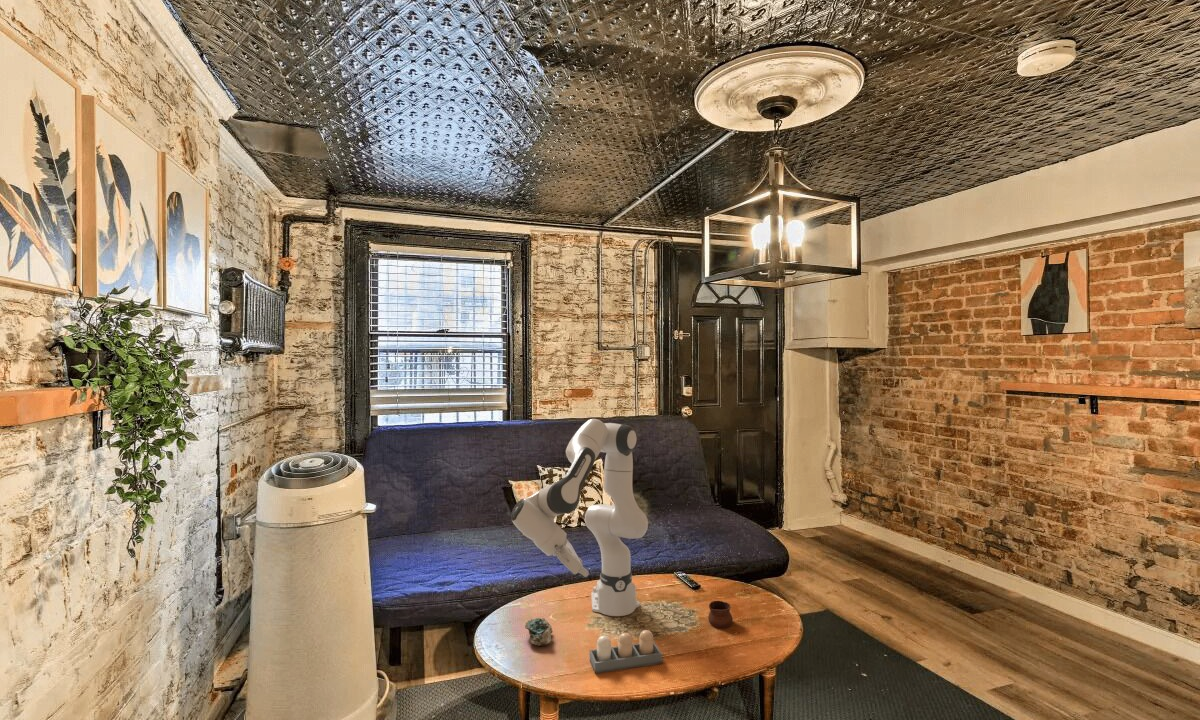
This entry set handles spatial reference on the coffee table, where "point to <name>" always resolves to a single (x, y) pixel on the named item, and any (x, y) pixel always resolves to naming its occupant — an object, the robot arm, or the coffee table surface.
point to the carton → (629, 654)
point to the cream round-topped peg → (603, 649)
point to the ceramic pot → (720, 614)
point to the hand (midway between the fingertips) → (583, 568)
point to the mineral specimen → (539, 631)
